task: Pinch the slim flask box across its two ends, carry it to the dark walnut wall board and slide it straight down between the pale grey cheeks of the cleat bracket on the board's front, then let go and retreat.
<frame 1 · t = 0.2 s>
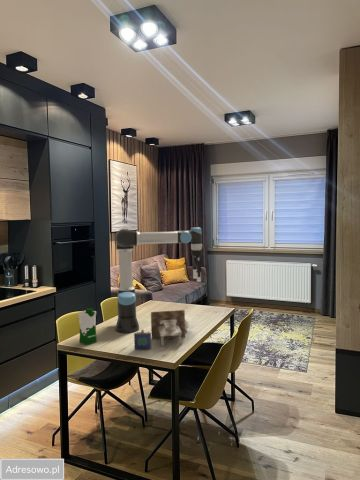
hand: (196, 280, 256), 28 cm above the table, tool pointing down, fingers open, 13 cm apart
cleat board: (168, 337, 219), on the table
milk carton: (88, 342, 214), on the table
pretzel: (180, 331, 232), on the table
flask: (142, 349, 201), on the table
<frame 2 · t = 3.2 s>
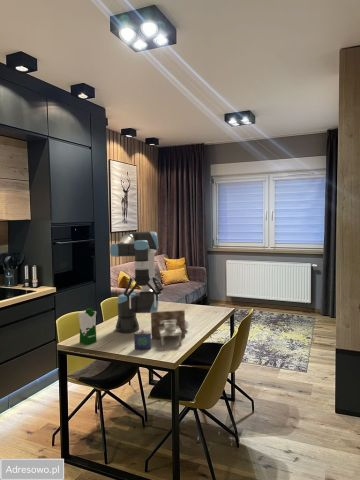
hand: (142, 307, 200), 23 cm above the table, tool pointing down, fingers open, 13 cm apart
nothing on the table moved.
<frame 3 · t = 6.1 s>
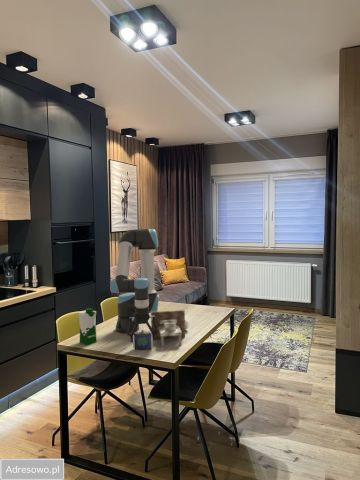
hand: (142, 347, 201), 1 cm above the table, tool pointing down, fingers closed on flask, 9 cm apart
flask: (142, 349, 201), on the table, touching gripper
everything else where it was.
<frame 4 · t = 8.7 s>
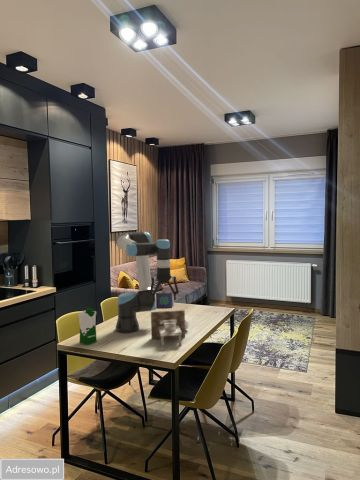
hand: (164, 306, 208), 22 cm above the table, tool pointing down, fingers closed on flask, 9 cm apart
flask: (164, 308, 208), point 20 cm above the table, touching gripper
everything else where it was.
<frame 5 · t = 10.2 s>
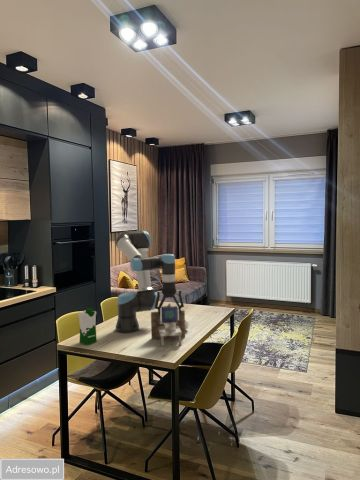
hand: (169, 320, 210), 13 cm above the table, tool pointing down, fingers closed on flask, 9 cm apart
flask: (169, 322, 210), point 12 cm above the table, touching gripper
everything else where it was.
when the fingers open (10 cm above the table, at t = 11.3 s): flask drops 1 cm, resting on cleat board.
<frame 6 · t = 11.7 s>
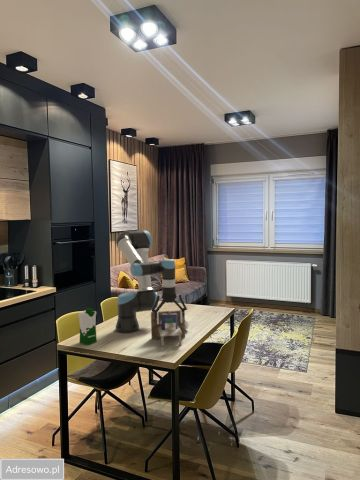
hand: (169, 323, 211), 11 cm above the table, tool pointing down, fingers open, 13 cm apart
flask: (169, 329, 211), point 7 cm above the table, touching cleat board
everything else where it was.
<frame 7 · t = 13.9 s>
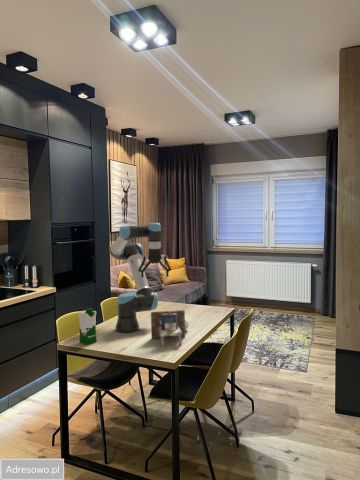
hand: (154, 282, 226), 32 cm above the table, tool pointing down, fingers open, 13 cm apart
nothing on the table moved.
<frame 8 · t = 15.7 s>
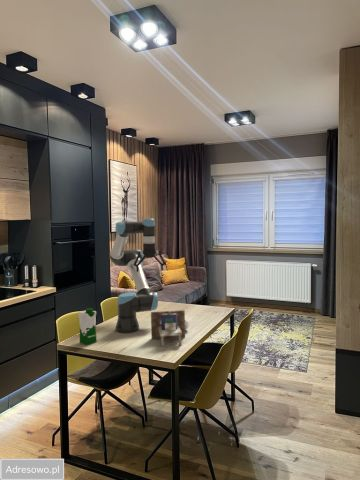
hand: (149, 276, 233), 35 cm above the table, tool pointing down, fingers open, 13 cm apart
nothing on the table moved.
at the end: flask 0.1 cm from the target spot on the cleat board, point 7.3 cm above the cleat board's base; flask tilted 0°; the gripper is holding nothing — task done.
